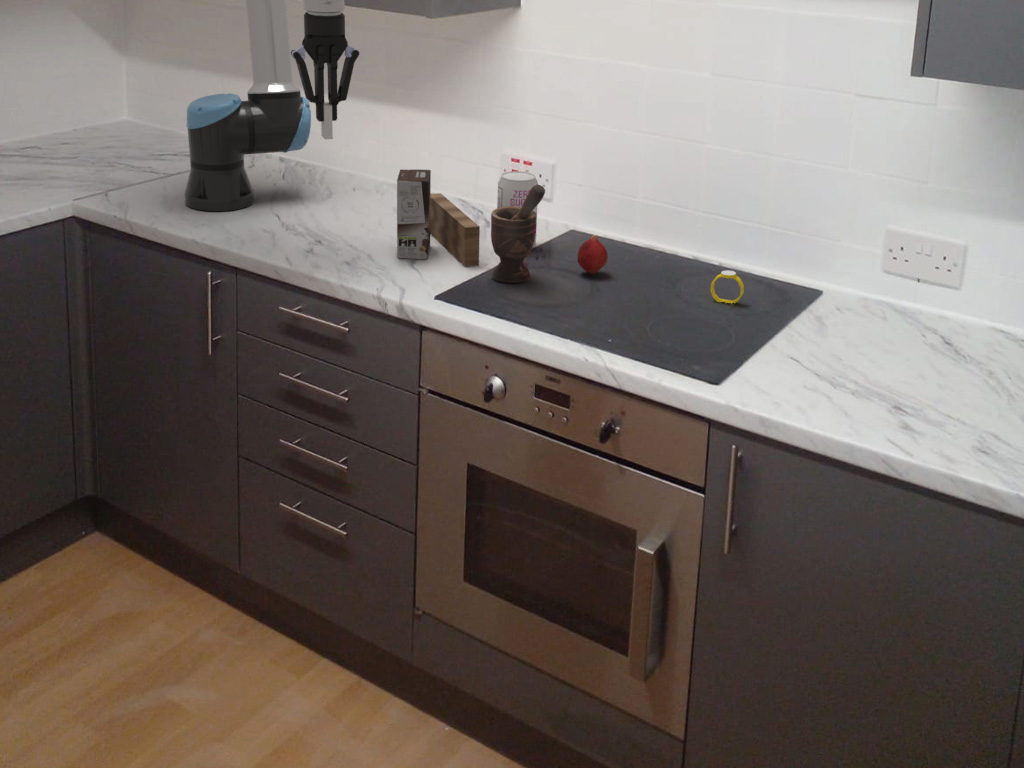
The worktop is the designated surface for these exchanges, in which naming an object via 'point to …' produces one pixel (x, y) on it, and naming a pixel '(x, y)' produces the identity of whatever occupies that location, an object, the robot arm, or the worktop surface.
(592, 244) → the onion
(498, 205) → the supplement can
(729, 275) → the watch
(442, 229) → the wooden board
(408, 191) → the coffee box
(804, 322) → the worktop surface
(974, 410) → the worktop surface
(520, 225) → the mortar and pestle
